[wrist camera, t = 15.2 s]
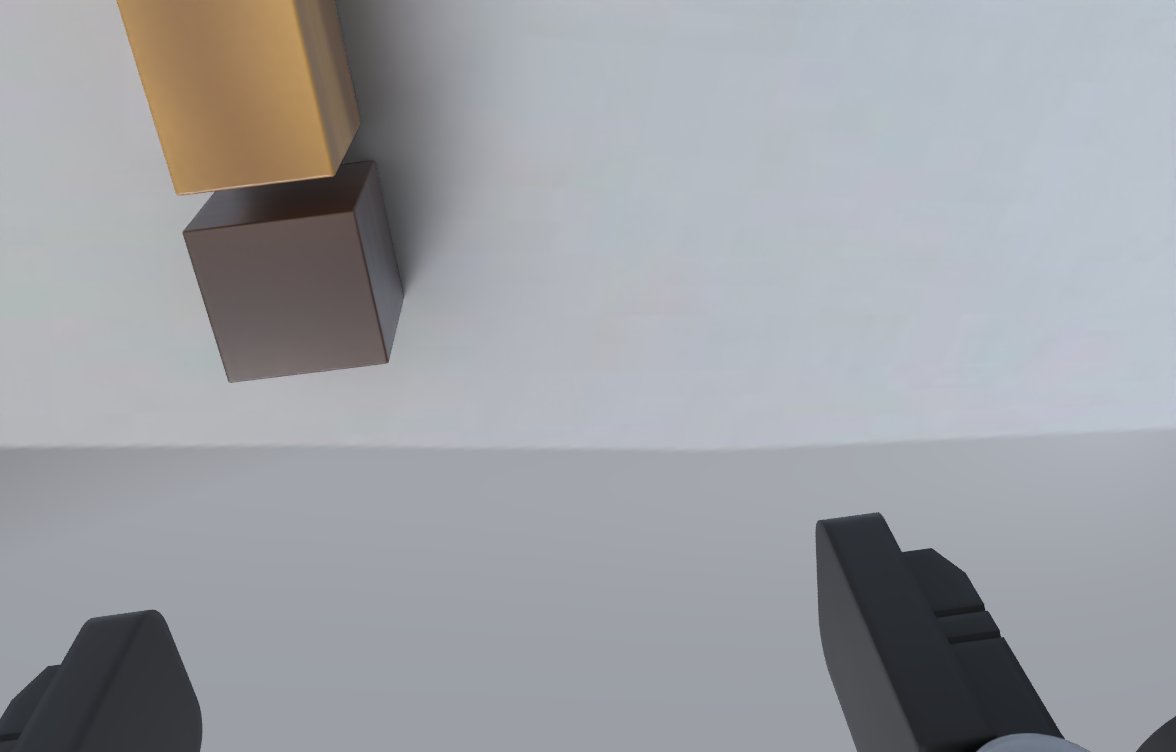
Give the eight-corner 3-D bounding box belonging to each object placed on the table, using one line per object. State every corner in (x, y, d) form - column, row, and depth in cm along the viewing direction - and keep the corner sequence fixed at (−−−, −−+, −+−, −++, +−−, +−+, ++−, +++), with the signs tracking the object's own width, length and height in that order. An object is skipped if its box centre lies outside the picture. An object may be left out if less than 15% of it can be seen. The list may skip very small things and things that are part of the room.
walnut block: (404, 298, 33) (388, 364, 29) (262, 315, 33) (228, 384, 29) (375, 159, 31) (354, 210, 27) (224, 178, 31) (180, 231, 27)
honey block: (295, -186, 27) (251, -186, 22) (362, 124, 31) (335, 177, 26) (139, -167, 27) (65, -162, 22) (225, 141, 31) (175, 197, 26)
